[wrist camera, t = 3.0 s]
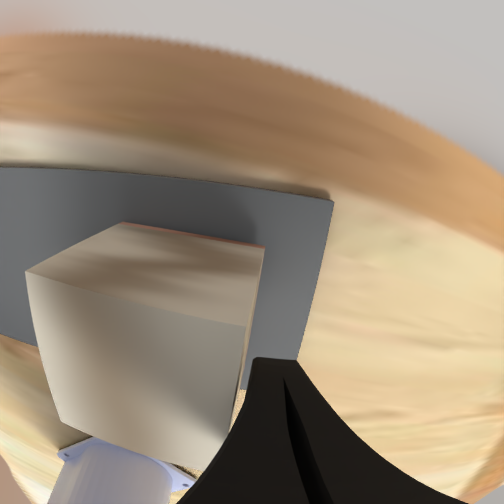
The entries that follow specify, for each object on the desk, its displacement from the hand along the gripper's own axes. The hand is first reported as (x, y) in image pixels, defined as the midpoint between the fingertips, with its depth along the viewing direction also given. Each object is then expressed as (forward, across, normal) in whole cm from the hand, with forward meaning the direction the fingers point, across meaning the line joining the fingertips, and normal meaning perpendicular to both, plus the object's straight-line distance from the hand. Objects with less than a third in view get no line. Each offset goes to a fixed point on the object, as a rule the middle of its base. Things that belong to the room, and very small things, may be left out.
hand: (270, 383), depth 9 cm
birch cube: (+5, +3, 0) cm, 6 cm away
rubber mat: (+6, +9, 0) cm, 10 cm away
